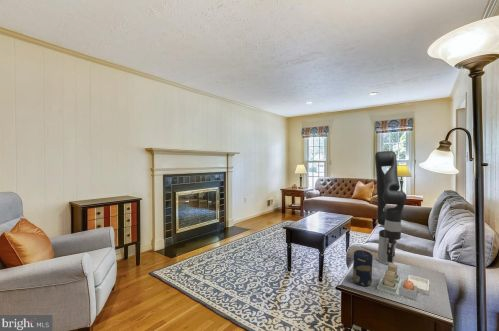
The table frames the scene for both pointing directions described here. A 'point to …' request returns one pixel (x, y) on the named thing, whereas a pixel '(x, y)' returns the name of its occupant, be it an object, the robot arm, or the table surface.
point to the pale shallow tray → (420, 284)
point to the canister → (362, 267)
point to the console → (408, 292)
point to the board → (390, 290)
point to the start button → (408, 285)
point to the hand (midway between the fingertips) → (391, 258)
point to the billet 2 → (389, 278)
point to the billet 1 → (393, 269)
